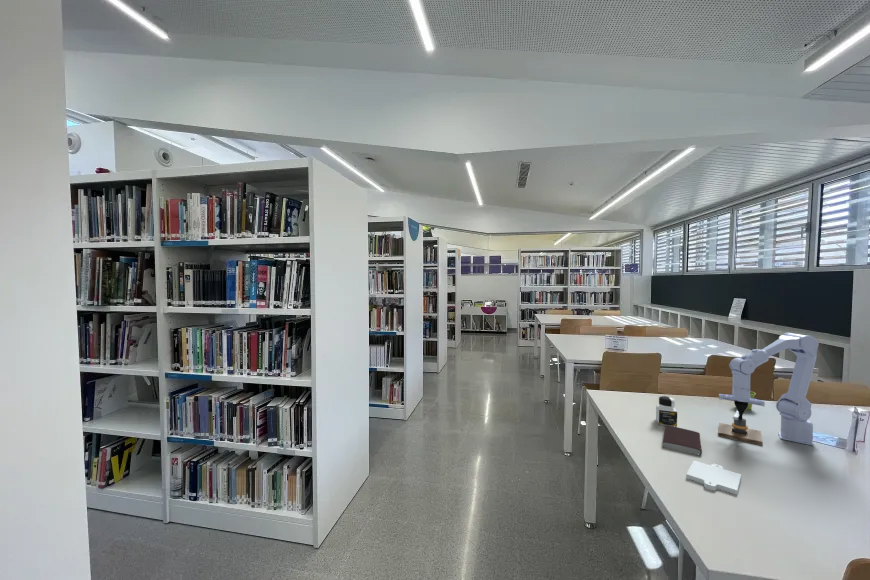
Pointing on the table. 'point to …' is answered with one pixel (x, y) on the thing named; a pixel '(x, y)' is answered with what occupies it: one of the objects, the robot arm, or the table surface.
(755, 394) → the plant pot
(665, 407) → the medicine bottle
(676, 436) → the book
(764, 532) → the table surface
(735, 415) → the grey rectangular bar
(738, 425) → the plug
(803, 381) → the robot arm
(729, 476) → the mounting plate
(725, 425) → the socket block
